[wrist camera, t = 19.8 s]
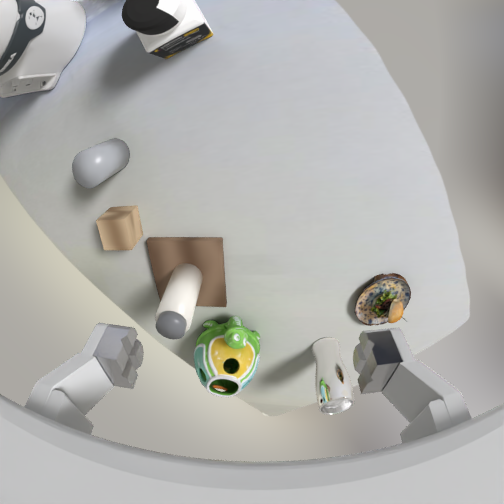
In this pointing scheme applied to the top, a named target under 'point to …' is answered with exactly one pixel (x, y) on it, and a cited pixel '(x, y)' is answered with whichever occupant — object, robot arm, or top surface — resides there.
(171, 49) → the medicine bottle
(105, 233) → the oak block
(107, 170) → the grey cylinder
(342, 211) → the top surface
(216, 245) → the walnut board
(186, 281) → the plastic bottle
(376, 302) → the burger
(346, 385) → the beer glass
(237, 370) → the turtle holder
